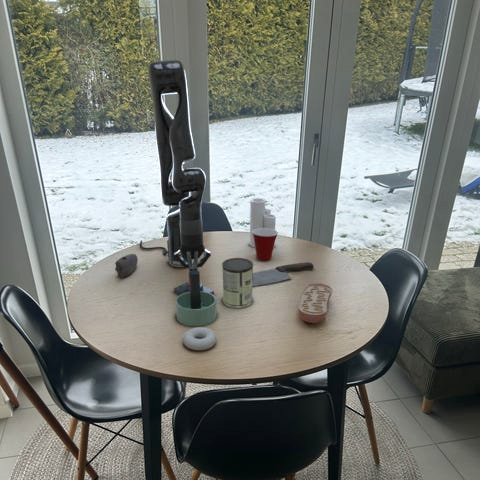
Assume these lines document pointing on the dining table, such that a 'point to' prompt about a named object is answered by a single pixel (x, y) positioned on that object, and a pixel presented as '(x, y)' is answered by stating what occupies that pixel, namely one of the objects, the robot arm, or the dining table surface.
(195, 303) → the food processor blade
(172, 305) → the dining table surface
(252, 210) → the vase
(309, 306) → the anatomical model
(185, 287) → the control block
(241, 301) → the coffee can
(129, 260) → the perforated stone tool
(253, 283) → the cleaver
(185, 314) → the processor bowl
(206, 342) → the donut
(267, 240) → the plastic cup
